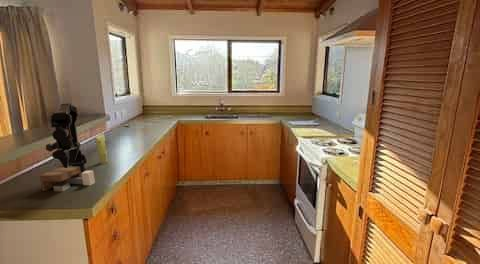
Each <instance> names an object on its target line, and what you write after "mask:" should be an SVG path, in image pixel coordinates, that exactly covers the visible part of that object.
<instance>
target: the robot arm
mask: <svg viewBox="0 0 480 264" xmlns="http://www.w3.org/2000/svg"><path fill="white" fill-rule="evenodd" d="M50 115H51V116H50V117H51V118H50V122H51V123H50V124H51V127H50V128H55V129H54V131H53V132H52V138H53V139H54V141H55V142H53V143H51V142H49V143H47V144H45V150H46V151H48V152H49V153H51V152H52V153H51V157H52V158H53V159H57V160H59V162H60V163H61V166H64V168H67V167H68V166H75V167H80V170H81V173H83V172H85V171H86V169H85V165H86V164H87V163H88V162H87V161H88V160H87V157H86V155H85V154H84V152H83V151H82V149H81V148H80V147H81V143H80V142H79V138H78V130H77V122H78V120H79V116H80V113H79V110H78V108H77V107H76V106H74V105H73V104H72V103H68V102H67V103H61V104H60V108H59V109H58V110H57V111H53V112H52V114H50ZM81 175H82V174H81Z"/></svg>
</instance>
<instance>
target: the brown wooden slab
mask: <svg viewBox="0 0 480 264" xmlns="http://www.w3.org/2000/svg"><path fill="white" fill-rule="evenodd" d="M70 177H80V178H82V175H81V170H80V167H75V166H69V165H68V167H67V168H64V166H63V165H60V166H58V167H56V168H54V169H51V170H48V171H47V172H44V173H42V174H39V181H40V184H41V185H40V186H41V189H42V192H46V191H48V190H49V189H50V190H51V189H52V188H54V187H53V186H54V185H56V184H58V183H60V182H65V180H66V179H68V178H70Z"/></svg>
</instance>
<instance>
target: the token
mask: <svg viewBox="0 0 480 264" xmlns="http://www.w3.org/2000/svg"><path fill="white" fill-rule="evenodd" d="M52 188H53V191H54V192H64V191H66V190H68V189H70V188H71V184H70V183H69V182H65V181H63V182H60V183H58V184H56V185H54V186H53V187H52Z"/></svg>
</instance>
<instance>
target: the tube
mask: <svg viewBox="0 0 480 264" xmlns="http://www.w3.org/2000/svg"><path fill="white" fill-rule="evenodd" d="M94 139H95V142H96V148H97V149H96V150H97V154H98V160H99V164H106V163H108V161H109V160H108V155H107V147H106V146H107V145H106V138H105V133H101V134H99V135H95V136H94Z"/></svg>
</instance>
